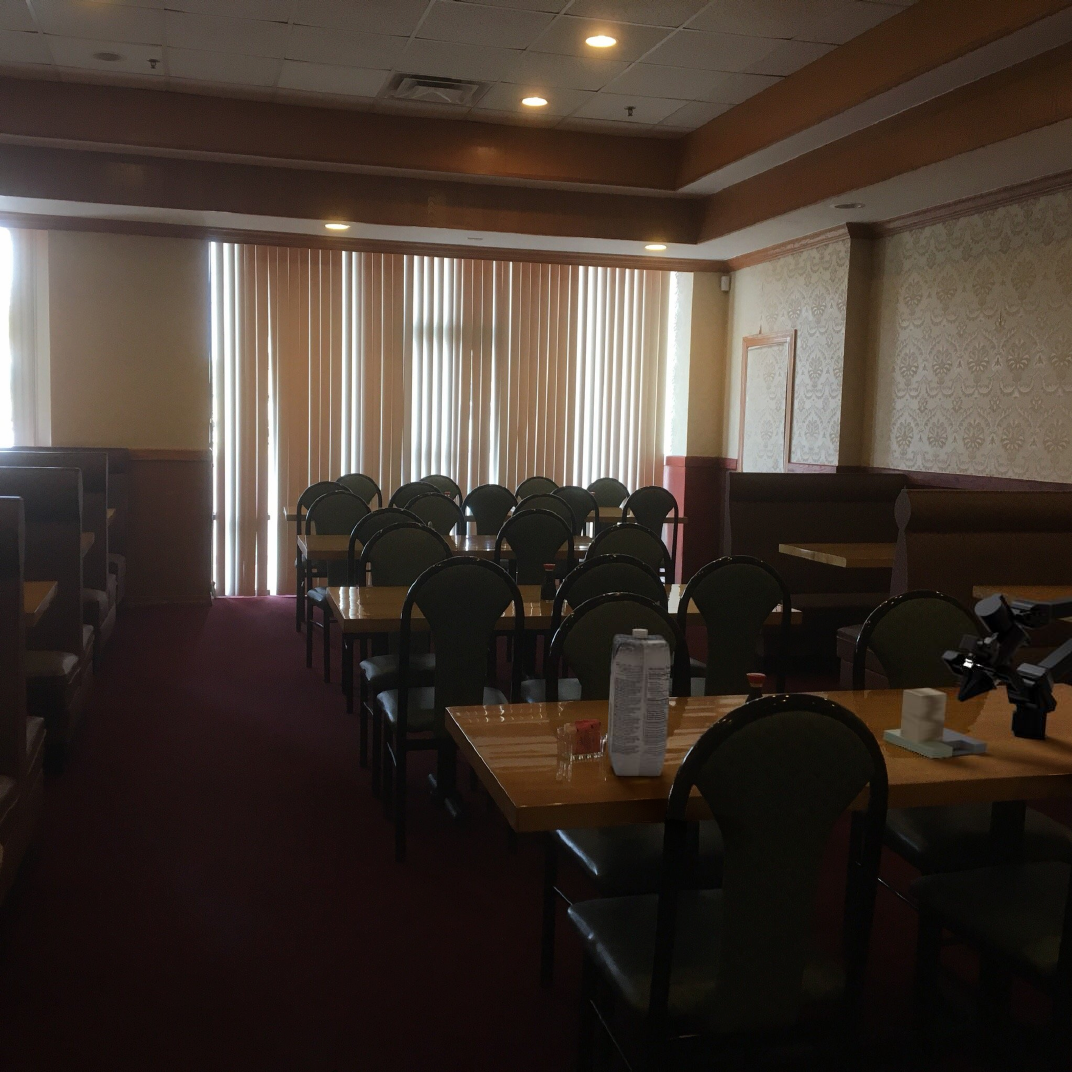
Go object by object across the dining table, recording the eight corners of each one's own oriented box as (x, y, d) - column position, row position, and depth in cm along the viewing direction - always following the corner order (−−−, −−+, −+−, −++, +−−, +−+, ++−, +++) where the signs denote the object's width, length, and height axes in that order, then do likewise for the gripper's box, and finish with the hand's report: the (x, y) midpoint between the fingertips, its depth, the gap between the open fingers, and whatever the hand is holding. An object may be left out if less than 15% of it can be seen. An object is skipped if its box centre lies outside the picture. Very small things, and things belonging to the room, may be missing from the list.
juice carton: (667, 778, 203) (674, 636, 200) (611, 778, 202) (618, 635, 199) (658, 763, 212) (665, 627, 209) (604, 762, 211) (611, 625, 208)
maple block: (925, 733, 233) (928, 687, 232) (942, 740, 229) (946, 693, 228) (900, 736, 230) (903, 690, 229) (917, 743, 226) (921, 696, 225)
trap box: (936, 733, 241) (936, 724, 240) (986, 752, 228) (986, 743, 228) (883, 739, 234) (884, 730, 234) (931, 759, 222) (932, 749, 222)
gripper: (951, 614, 242) (909, 666, 238) (1019, 630, 225) (976, 686, 221) (974, 647, 246) (933, 698, 242) (1043, 665, 229) (1001, 721, 226)
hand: (959, 700), depth 233 cm, fingers closed
